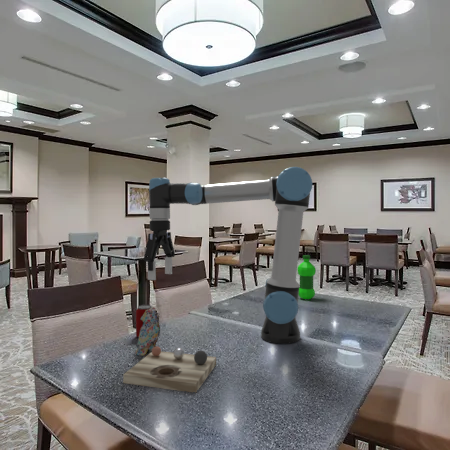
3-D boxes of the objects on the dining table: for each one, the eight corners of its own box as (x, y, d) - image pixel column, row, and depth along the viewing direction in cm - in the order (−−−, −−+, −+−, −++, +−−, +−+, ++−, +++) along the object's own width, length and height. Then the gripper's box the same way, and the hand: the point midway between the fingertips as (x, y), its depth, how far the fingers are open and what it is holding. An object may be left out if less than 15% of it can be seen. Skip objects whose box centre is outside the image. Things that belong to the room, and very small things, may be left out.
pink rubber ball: (162, 354, 117) (162, 345, 117) (158, 358, 114) (158, 348, 114) (154, 353, 118) (154, 344, 118) (150, 357, 115) (149, 347, 115)
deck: (153, 357, 121) (153, 350, 120) (216, 364, 115) (216, 357, 115) (123, 383, 102) (123, 374, 102) (196, 392, 96) (195, 383, 96)
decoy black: (208, 362, 111) (208, 349, 111) (204, 367, 107) (204, 354, 107) (196, 360, 112) (196, 348, 112) (192, 366, 108) (192, 352, 108)
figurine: (133, 348, 129) (132, 307, 129) (157, 344, 133) (157, 304, 133) (137, 356, 121) (136, 312, 121) (163, 352, 125) (162, 310, 125)
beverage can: (149, 340, 138) (149, 309, 138) (133, 339, 139) (132, 308, 139) (156, 334, 144) (156, 304, 144) (140, 333, 146) (140, 304, 146)
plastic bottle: (297, 300, 202) (297, 256, 201) (297, 296, 212) (297, 254, 212) (316, 301, 200) (316, 256, 200) (314, 297, 211) (314, 254, 210)
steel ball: (185, 357, 114) (185, 346, 114) (181, 361, 111) (181, 350, 111) (175, 356, 115) (175, 345, 115) (171, 360, 112) (171, 349, 112)
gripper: (165, 219, 146) (166, 271, 147) (133, 220, 122) (134, 282, 123) (182, 219, 144) (183, 272, 145) (152, 220, 120) (153, 283, 121)
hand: (160, 276), depth 134 cm, fingers open, 13 cm apart
